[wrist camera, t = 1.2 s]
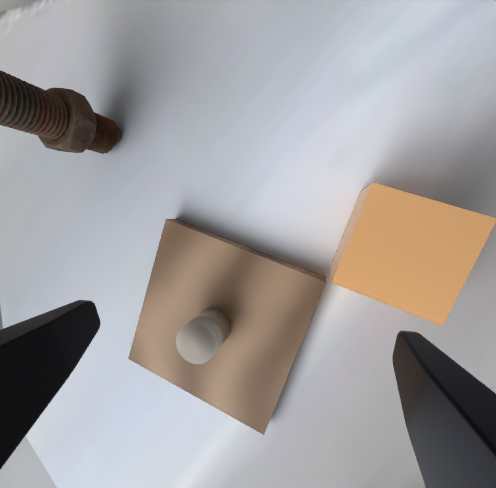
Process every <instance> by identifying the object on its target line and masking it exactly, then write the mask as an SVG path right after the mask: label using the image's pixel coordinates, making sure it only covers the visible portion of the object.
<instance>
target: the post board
mask: <svg viewBox="0 0 496 488" xmlns="http://www.w3.org/2000/svg"><path fill="white" fill-rule="evenodd" d="M325 283H326V278H325V277H323V276H320V275H318V274H315V273H313V272H310V271H308V270H305V269H302V268H300V267H297V266H295V265H292V264H290V263H287V262H284V261H282V260H279V259H277V258H274V257H272V256H269V255H267V254H264V253H261V252H259V251H256V250H254V249H251V248H249V247H246V246H243V245H241V244H238V243H236V242H233V241H231V240H228V239H226V238H223V237H220V236H218V235H215V234H213V233H210V232H208V231H205V230H202V229H200V228H197V227H195V226H192V225H190V224H187V223H184V222H182V221H179V220H177V219H166V221H165V225H164V228H163V232H162V236H161V239H160V243H159V247H158V251H157V254H156V258H155V262H154V265H153V269H152V273H151V277H150V280H149V284H148V288H147V291H146V295H145V299H144V303H143V306H142V310H141V314H140V317H139V321H138V325H137V329H136V332H135V336H134V340H133V344H132V347H131V351H130V355H129V358H128V359H130V360H132V361H133V362H135V363H137V364H139V365H140V366H142V367H144V368H146V369H148V370H149V371H151V372H153V373H155V374H156V375H158V376H160V377H162V378H164V379H165V380H167V381H169V382H171V383H173V384H174V385H176V386H178V387H180V388H181V389H183V390H185V391H187V392H189V393H190V394H192V395H194V396H196V397H197V398H199V399H201V400H203V401H205V402H206V403H208V404H210V405H212V406H213V407H215V408H217V409H219V410H221V411H222V412H224V413H226V414H228V415H230V416H231V417H233V418H235V419H237V420H238V421H240V422H242V423H244V424H246V425H247V426H249V427H251V428H253V429H254V430H256V431H258V432H260V433H262V434H263V435H264V433H265V431H266V428H267V426H268V424H269V421H270V419H271V416H272V414H273V411H274V409H275V406H276V404H277V401H278V399H279V396H280V394H281V391H282V389H283V387H284V384H285V382H286V379H287V377H288V374H289V372H290V369H291V367H292V364H293V362H294V359H295V357H296V354H297V352H298V350H299V347H300V345H301V342H302V340H303V337H304V335H305V332H306V330H307V327H308V325H309V322H310V320H311V317H312V315H313V313H314V310H315V308H316V305H317V303H318V300H319V298H320V295H321V293H322V290H323V288H324V285H325Z"/></svg>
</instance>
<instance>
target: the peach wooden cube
mask: <svg viewBox="0 0 496 488" xmlns="http://www.w3.org/2000/svg"><path fill="white" fill-rule="evenodd" d="M495 223H496V218H494V217H490V216H487V215H483V214H480V213H476V212H473V211H470V210H466V209H463V208H459V207H456V206H453V205H449V204H446V203H442V202H439V201H435V200H432V199H429V198H425V197H422V196H418V195H415V194H412V193H408V192H405V191H401V190H398V189H394V188H391V187H388V186H384V185H381V184H377V183H374V182H372V183H371V184H370V185H369V186H367V187H366V188H365V189H363V190H362V191H361V192H360V195H359V197H358V200H357V202H356V204H355V207H354V209H353V212H352V214H351V217H350V219H349V222H348V224H347V227H346V229H345V232H344V234H343V237H342V239H341V242H340V244H339V247H338V249H337V251H336V254H335V256H334V259H333V261H332V264H331V279H332V283H334V284H337V285H339V286H342V287H344V288H347V289H349V290H352V291H355V292H357V293H360V294H362V295H365V296H367V297H370V298H372V299H375V300H377V301H380V302H383V303H385V304H388V305H390V306H393V307H395V308H398V309H400V310H403V311H405V312H408V313H411V314H413V315H416V316H418V317H421V318H423V319H426V320H428V321H431V322H433V323H436V324H439V325H441V326H443V324H444V322H445V320H446V318H447V316H448V315H449V313H450V311H451V309H452V307H453V305H454V303H455V301H456V299H457V297H458V295H459V293H460V291H461V289H462V287H463V285H464V283H465V281H466V279H467V277H468V276H469V274H470V272H471V270H472V268H473V266H474V264H475V262H476V260H477V258H478V256H479V254H480V252H481V250H482V248H483V246H484V244H485V242H486V240H487V238H488V237H489V235H490V233H491V231H492V229H493V227H494V225H495Z"/></svg>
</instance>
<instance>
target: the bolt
mask: <svg viewBox="0 0 496 488" xmlns="http://www.w3.org/2000/svg"><path fill="white" fill-rule="evenodd" d="M0 125H2V126H6V127H9V128H13V129H17V130H20V131H24V132H27V133H30V134H35V135H38V137H39V138H40V140H41V141H42V143H43V144H44V145H45V147H46V148H50V149H54V150H58V151H65V152H74V153H81V152H84V151H85V150H86V149H88V150H92V151H96V152H99V153H102V154H104V153H107V152H108V151H110V150H111V149H112V148H113V147H114V146H115V145H116V144H117V143H118V142H119V141H120V139H121V134H120V131H118V130H117V129H118V125H117V124H116V123H115V122H114V121H113V120H110V119H108V118H106V117H103V116H101V115H99V114H97V113H94V112H93V110H92V108H91V106H90V104H89V102H88V101H87V99H86V98H85V96H83V95H81V94H79V93H77V92H75V91H73V90H70V89H64V88H50V89H48V90H43V89H41V88H39V87H36V86H34V85H32V84H29V83H27V82H25V81H22V80H21V79H18V78H16V77H15V76H11V75H10V74H7V73H5V72H3V71H0Z"/></svg>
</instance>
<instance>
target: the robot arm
mask: <svg viewBox="0 0 496 488" xmlns="http://www.w3.org/2000/svg"><path fill="white" fill-rule="evenodd" d="M99 327H100V319H99V316H98V313H97V310H96V306H95V304H94V303H93V302H92V301H87V300H78V301H75V302H73V303H70V304H67V305H65V306H62V307H59V308H57V309H54V310H52V311H49V312H46V313H44V314H41V315H38V316H36V317H33V318H30V319H28V320H25V321H23V322H20V323H17V324H15V325H12V326H9V327H7V328H4V329H2V330H0V469H1V468H2V467H3V465H4V464H5V463H6V461H7V460H8V458H9V457H10V456H11V454H12V453H13V452H14V450H15V449H16V447H17V446H18V445H19V444H20V442H21V441H22V439H23V438H24V437H25V435H26V434H27V433H28V431H29V430H30V429H31V427H32V426H33V425H34V423H35V422H36V421H37V419H38V418H39V417H40V415H41V414H42V413H43V411H44V410H45V408H46V407H47V406H48V404H49V403H50V402H51V400H52V399H53V398H54V396H55V395H56V394H57V392H58V391H59V390H60V388H61V387H62V385H63V384H64V383H65V381H66V380H67V379H68V377H69V376H70V374H71V373H72V371H73V370H74V368H75V367H76V365H77V364H78V362H79V360H80V359H81V357H82V356H83V354H84V352H85V351H86V349H87V348H88V346H89V344H90V343H91V341H92V339H93V338H94V336H95V335H96V333H97V331H98V330H99ZM393 366H394V371H395V376H396V380H397V385H398V390H399V394H400V399H401V404H402V409H403V413H404V418H405V422H406V426H407V430H408V433H409V437H410V440H411V443H412V446H413V449H414V452H415V455H416V458H417V461H418V464H419V467H420V470H421V474H422V477H423V480H424V483H425V486H426V488H496V393H494V392H493V391H492V390H490V389H489V388H488V387H487V386H485V385H484V384H483V383H482V382H480V381H479V380H478V379H476V378H475V377H474V376H473V375H471V374H470V373H469V372H468V371H466V370H465V369H464V368H462V367H461V366H460V365H459V364H457V363H456V362H455V361H454V360H452V359H451V358H450V357H448V356H447V355H446V354H445V353H443V352H442V351H441V350H440V349H438V348H437V347H436V346H435V345H433V344H432V343H431V342H429V341H428V340H427V339H426V338H424V337H423V336H422V335H421V334H419V333H417V332H411V331H400V332H399V333H398V335H397V339H396V343H395V347H394V352H393Z"/></svg>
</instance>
